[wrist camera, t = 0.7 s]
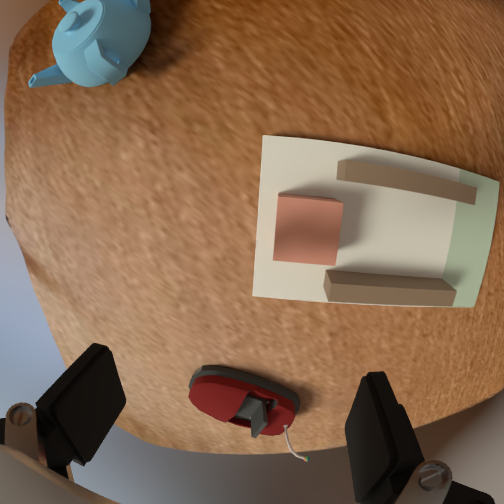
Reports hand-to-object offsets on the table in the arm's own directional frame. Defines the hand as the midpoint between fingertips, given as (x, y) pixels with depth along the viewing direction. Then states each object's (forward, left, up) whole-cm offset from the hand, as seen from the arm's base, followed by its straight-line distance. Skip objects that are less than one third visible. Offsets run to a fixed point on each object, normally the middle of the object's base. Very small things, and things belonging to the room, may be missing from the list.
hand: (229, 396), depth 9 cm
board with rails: (-2, +15, -25) cm, 29 cm away
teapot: (-26, -23, -25) cm, 43 cm away
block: (-2, +4, -23) cm, 23 cm away
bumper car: (+26, 0, -25) cm, 36 cm away
